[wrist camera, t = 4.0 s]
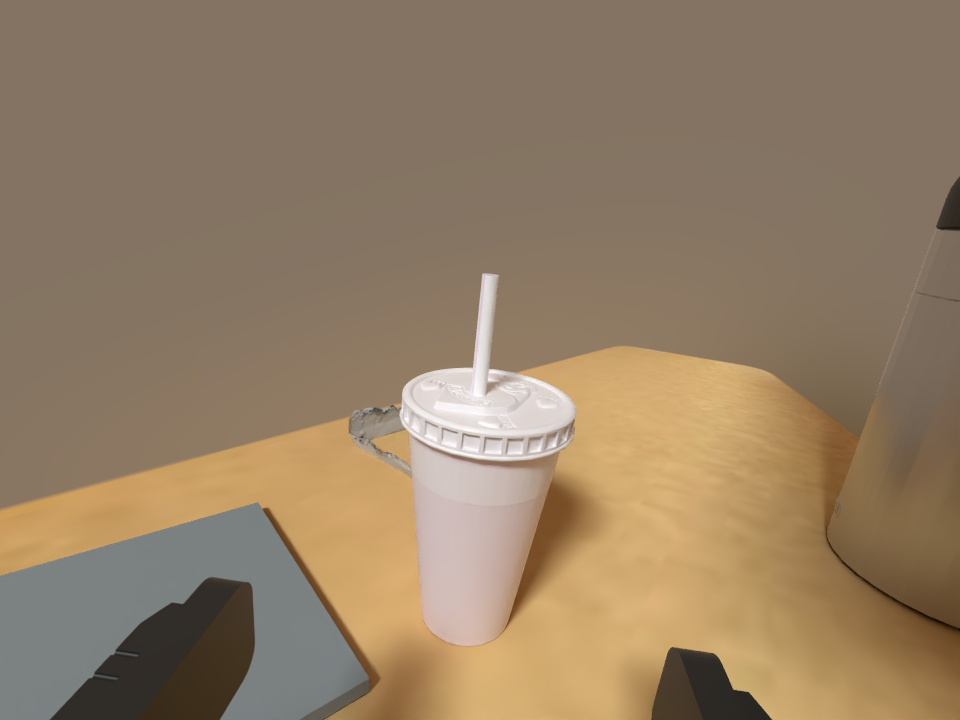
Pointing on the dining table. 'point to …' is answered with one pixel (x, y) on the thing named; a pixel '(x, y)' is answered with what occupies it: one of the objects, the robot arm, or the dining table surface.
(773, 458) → the dining table surface
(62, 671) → the mat
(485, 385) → the smoothie
